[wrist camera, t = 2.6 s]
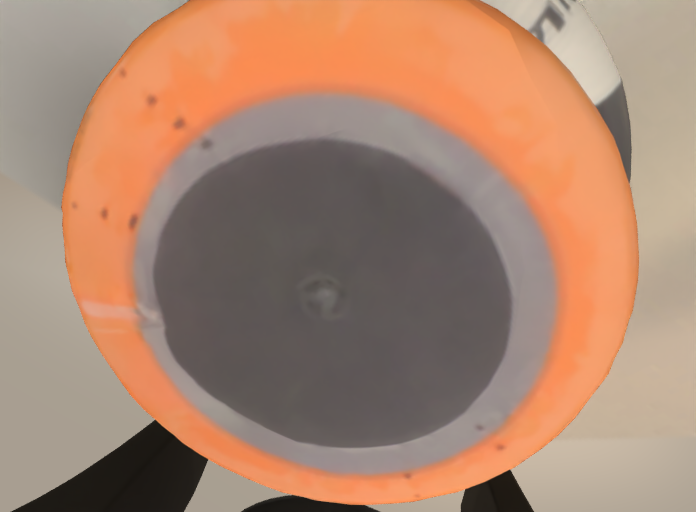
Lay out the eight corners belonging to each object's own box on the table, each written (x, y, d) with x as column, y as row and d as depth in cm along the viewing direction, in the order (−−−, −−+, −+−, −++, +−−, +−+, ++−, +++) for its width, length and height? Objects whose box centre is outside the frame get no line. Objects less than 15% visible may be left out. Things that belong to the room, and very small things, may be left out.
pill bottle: (446, -52, 12) (636, -877, 1) (545, 156, 13) (986, 489, 3) (256, 80, 14) (-262, 141, 3) (362, 251, 15) (237, 664, 5)
